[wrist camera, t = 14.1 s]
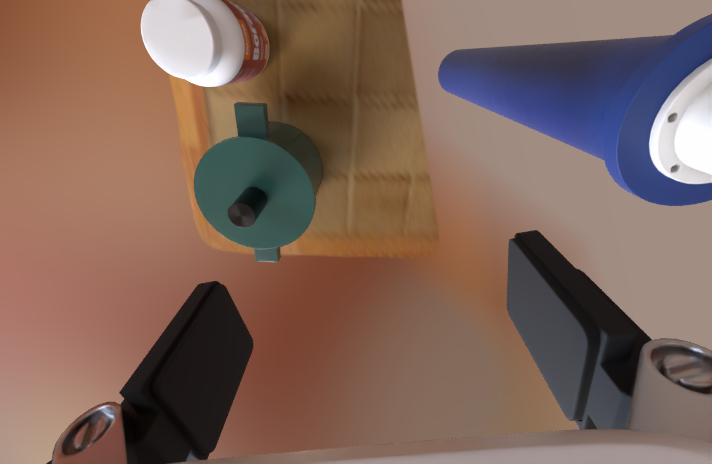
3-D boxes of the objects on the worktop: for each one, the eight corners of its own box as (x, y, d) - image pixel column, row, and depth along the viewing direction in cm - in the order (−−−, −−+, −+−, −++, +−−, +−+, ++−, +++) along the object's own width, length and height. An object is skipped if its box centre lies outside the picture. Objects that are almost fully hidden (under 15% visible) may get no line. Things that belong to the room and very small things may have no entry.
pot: (321, 96, 32) (308, 108, 25) (322, 228, 39) (313, 268, 32) (224, 91, 32) (182, 102, 25) (244, 224, 39) (216, 263, 32)
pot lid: (315, 137, 26) (306, 151, 22) (317, 245, 31) (310, 273, 27) (187, 131, 26) (155, 144, 22) (211, 240, 31) (188, 268, 27)
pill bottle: (284, 60, 30) (246, 62, 21) (233, 92, 32) (176, 108, 22) (244, -11, 28) (180, -47, 18) (191, 28, 29) (105, 14, 20)
